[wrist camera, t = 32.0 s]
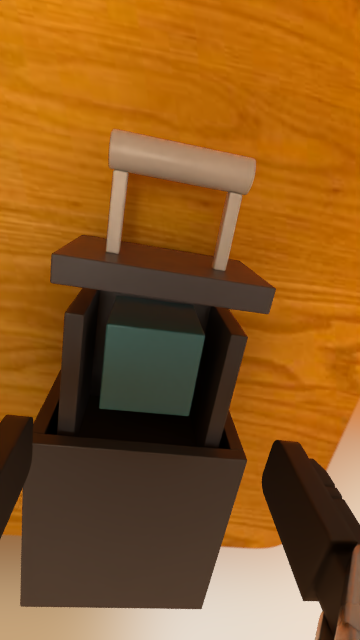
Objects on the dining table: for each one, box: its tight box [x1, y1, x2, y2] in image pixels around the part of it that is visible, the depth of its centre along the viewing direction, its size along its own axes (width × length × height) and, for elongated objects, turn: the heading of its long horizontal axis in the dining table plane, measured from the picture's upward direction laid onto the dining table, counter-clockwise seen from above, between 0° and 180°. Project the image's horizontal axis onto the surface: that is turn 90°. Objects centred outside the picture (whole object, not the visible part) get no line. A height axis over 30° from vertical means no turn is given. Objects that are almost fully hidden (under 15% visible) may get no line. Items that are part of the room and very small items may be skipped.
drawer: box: [50, 129, 276, 449], centre depth 17 cm, size 15×9×6 cm, turn 170°
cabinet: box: [20, 370, 247, 609], centre depth 21 cm, size 11×10×8 cm
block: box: [99, 296, 205, 416], centre depth 18 cm, size 4×4×4 cm
